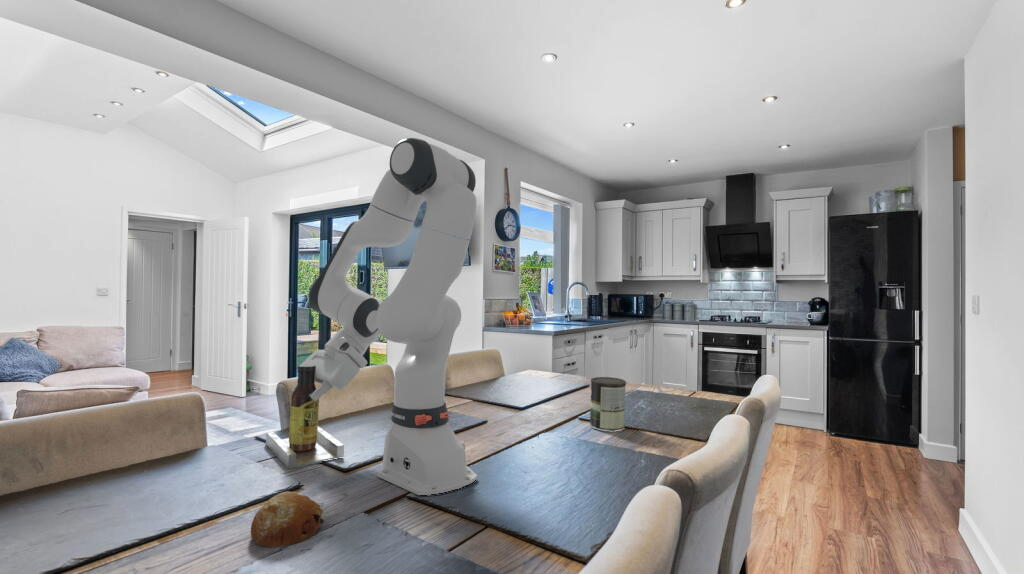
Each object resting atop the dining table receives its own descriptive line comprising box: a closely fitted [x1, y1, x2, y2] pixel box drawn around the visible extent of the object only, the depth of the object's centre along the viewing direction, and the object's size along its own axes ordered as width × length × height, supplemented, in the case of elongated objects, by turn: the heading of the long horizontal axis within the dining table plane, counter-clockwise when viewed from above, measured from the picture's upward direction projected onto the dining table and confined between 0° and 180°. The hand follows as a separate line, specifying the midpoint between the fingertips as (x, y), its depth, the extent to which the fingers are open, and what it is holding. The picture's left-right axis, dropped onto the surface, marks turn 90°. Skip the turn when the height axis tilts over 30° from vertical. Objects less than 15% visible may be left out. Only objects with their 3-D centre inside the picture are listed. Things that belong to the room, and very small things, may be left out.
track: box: [265, 425, 345, 470], centre depth 114 cm, size 20×12×3 cm, turn 40°
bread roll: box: [250, 490, 325, 548], centre depth 77 cm, size 10×10×8 cm
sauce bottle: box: [288, 364, 320, 452], centre depth 114 cm, size 7×6×20 cm
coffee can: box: [589, 376, 627, 431], centre depth 142 cm, size 10×10×14 cm
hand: (303, 395), depth 114 cm, fingers open, 8 cm apart
